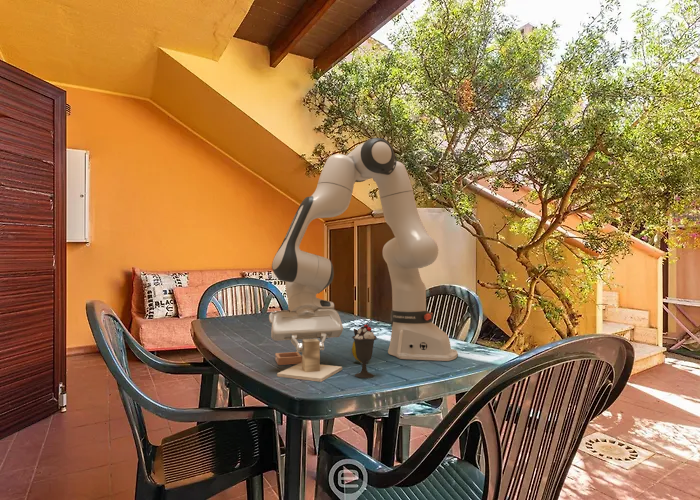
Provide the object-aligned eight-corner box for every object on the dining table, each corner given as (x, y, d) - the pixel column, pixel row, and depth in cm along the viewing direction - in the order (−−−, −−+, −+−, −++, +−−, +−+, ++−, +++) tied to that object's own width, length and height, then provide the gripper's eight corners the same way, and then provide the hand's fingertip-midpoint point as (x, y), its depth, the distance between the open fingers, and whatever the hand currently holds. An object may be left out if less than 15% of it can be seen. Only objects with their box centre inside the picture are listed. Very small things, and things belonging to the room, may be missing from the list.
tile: (342, 369, 116) (342, 366, 116) (321, 381, 104) (321, 378, 104) (301, 365, 121) (301, 362, 121) (277, 376, 109) (277, 373, 109)
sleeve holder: (298, 358, 130) (298, 351, 130) (302, 363, 123) (302, 356, 123) (275, 359, 128) (275, 353, 128) (278, 365, 121) (278, 358, 121)
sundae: (380, 377, 107) (380, 319, 108) (356, 380, 105) (355, 320, 106) (372, 371, 113) (372, 316, 114) (348, 373, 111) (348, 317, 112)
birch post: (316, 367, 115) (316, 338, 115) (319, 371, 111) (319, 341, 111) (302, 368, 114) (302, 339, 114) (305, 372, 110) (305, 341, 110)
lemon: (369, 365, 120) (368, 337, 121) (350, 364, 121) (350, 337, 122) (371, 361, 126) (371, 334, 126) (354, 360, 127) (353, 334, 127)
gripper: (269, 304, 117) (273, 345, 107) (338, 302, 123) (348, 340, 113) (267, 318, 121) (271, 359, 111) (334, 315, 127) (343, 353, 117)
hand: (310, 349), depth 112 cm, fingers open, 5 cm apart
